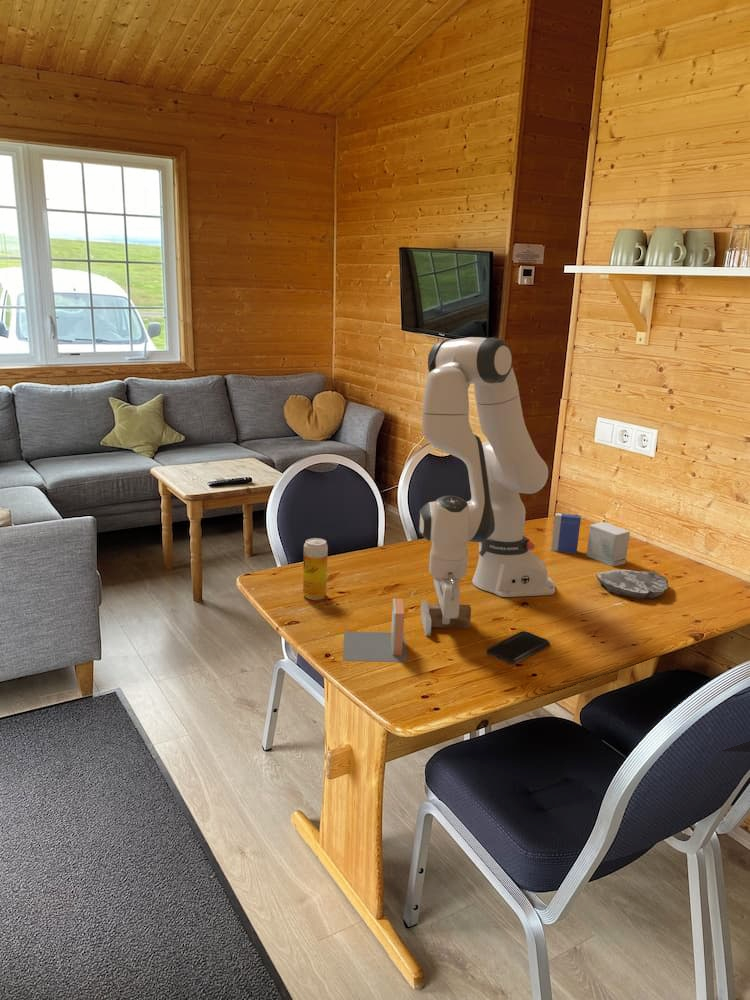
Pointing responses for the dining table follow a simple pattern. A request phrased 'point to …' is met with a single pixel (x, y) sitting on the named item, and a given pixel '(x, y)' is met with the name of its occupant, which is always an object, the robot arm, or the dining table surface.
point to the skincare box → (608, 544)
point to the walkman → (566, 533)
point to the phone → (518, 647)
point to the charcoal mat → (371, 647)
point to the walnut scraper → (434, 617)
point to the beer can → (315, 568)
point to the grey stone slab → (633, 583)
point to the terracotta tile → (397, 626)
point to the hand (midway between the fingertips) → (444, 619)
